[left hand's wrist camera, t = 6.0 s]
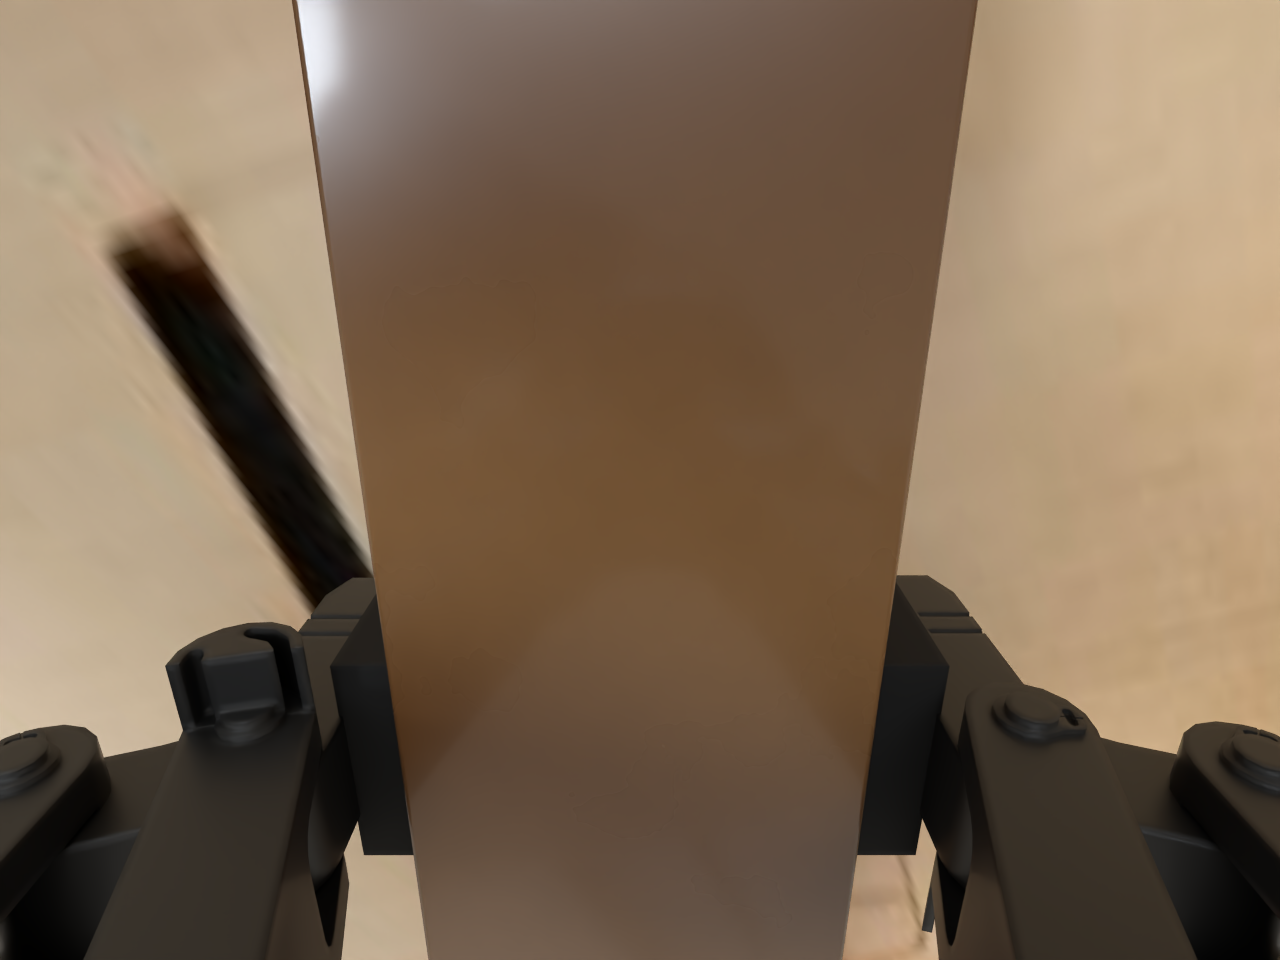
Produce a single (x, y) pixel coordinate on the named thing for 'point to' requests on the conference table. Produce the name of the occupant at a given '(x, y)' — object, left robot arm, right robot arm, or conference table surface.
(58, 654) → the conference table surface
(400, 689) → the post
